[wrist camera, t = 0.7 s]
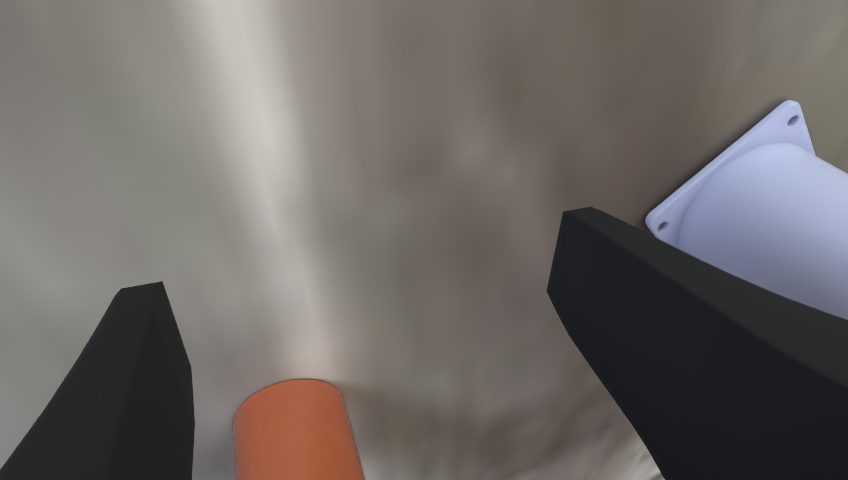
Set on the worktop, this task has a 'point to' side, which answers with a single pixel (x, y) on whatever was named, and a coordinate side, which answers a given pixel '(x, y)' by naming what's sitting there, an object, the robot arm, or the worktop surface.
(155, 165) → the worktop surface
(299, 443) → the jar
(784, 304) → the robot arm
